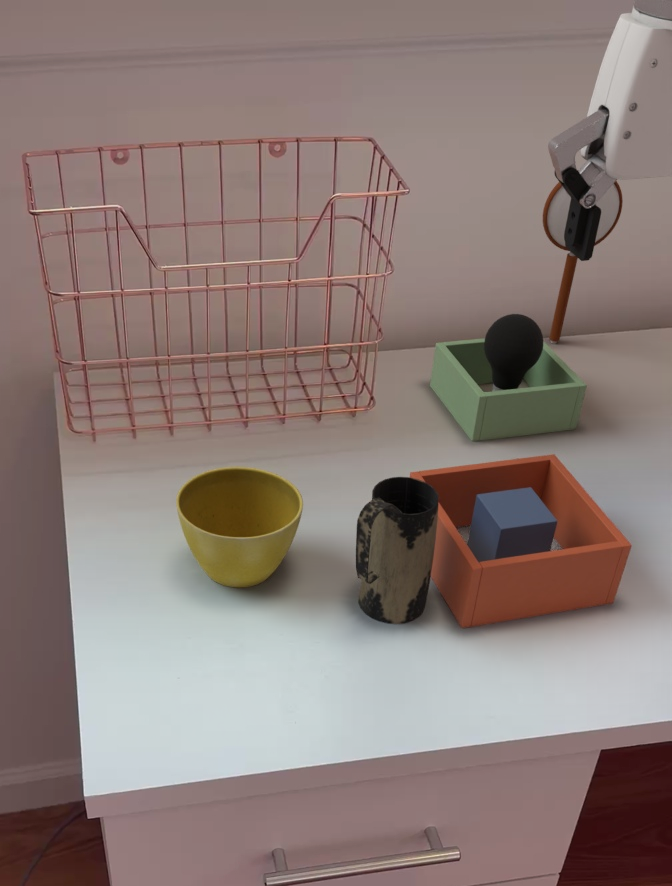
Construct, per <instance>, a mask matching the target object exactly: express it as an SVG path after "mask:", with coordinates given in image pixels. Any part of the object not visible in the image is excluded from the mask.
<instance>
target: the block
mask: <svg viewBox="0 0 672 886" xmlns="http://www.w3.org/2000/svg"><path fill="white" fill-rule="evenodd" d="M556 526H557V520H556V518H555V517H554V516H553V515H552V513H551V512H550V511H549V509H548V508H547V507H546V506H545V504H544V503H543V502H542V501H541V499H540V498H539V497H538V495H537V494H536V493H535V492H534V490H533V489H532V488H531V487H529V488H521V489H514V490H506V491H499V492H491V493H484V494H477V495H476V501H475V506H474V512H473V517H472V522H471V525H470V528H469V533H468V539H467V543H466V544H467V546H468V547H469V549H470V550H471V552H472V553H473V555H474V556H475V558H476V559H477V561H478V562H482V561H488V560H495V559H502V558H508V557H515V556H522V555H528V554H535V553H542V552H548V551H551V549H552V544H553V541H554V533H555V529H556Z"/></svg>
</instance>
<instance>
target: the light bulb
mask: <svg viewBox="0 0 672 886" xmlns="http://www.w3.org/2000/svg"><path fill="white" fill-rule="evenodd" d="M484 338H485V341H484V351H485V355H486V358H487V360H488V362H489V363H490V365H491V368H492V380H493V383H492V385H493V386H492V390H491V392H492V391H501V390H510V389H519V388H520V385H521V384H522V382H523V380H524V379H523V377H524V375H525V373H526V372H527V371H528V370H529V369H530V368H531V367H533V366H534V365H535V364H536V362H537V361H538V360H539V358H540V356H541V354H542V350H543V341H544V335H543V332H542V330H541V328H540V325H538V324H537V322H536V321H535V320H534V319H532V318H531V317H529V316H527V315H524V314H521V313H511V314H506V315H503V316H501V317H499V318H498V319H496V320H495V321H494V322H493V323H492V324H491V326H490V327H489V328H488V330H487V332H486V334H485V337H484ZM522 379H523V380H522Z"/></svg>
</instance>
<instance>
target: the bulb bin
mask: <svg viewBox="0 0 672 886" xmlns="http://www.w3.org/2000/svg"><path fill="white" fill-rule="evenodd" d="M484 341H485V337H483V338H475V339H463V340H462V339H461V340H453V341H443V342H441V341H440V342H436V343H435V348H434V354H433V360H432V361H433V362H432V368H431V375H430V381H429V386H430V388H431V389H432V390H433V392H434V393H435V394H436V396H437V397H438V399H439V400H440V402H441V403H442V404H443V405H444V407H445V408H446V409H447V411H448V412H449V413H450V414H451V415H452V417H453V419H454V420H455V421H456V423H458V425H459V427H460V428H461V429H462V430H463V431H464V433H465V434H466V435H467V437H468V438H469V440H470V441H471V442H478V441H489V440H496V439H504V438H513V437H520V436H521V437H522V436H529V435H530V436H531V435H538V434H546V433H547V434H548V433H555V432H564V431H570V430H571V431H572V430H576V429H577V426H578V422H579V418H580V415H581V410H582V407H583V402H584V398H585V394H586V390H587V384H586V383H585V382H584V380H582V378H581V377H580V376H579V375H577V373H575V372H574V370H573V369H571V368H570V367H569V365H568V364H566V362H564V361H563V359H562V358H560V356H559V355H558V354H557V353H556V352H555V351H554V350H553V349H552V348H551V347H550V346H549V345H548V344H547V343H546V341H544V340H543V350H542V354H541V356H540V358H539V360H538V361H537V362H536V364H535V365H534V366H533V367H531V368H530V369H529V370H528V371H527V372H526V373H525V375H524V377H523V379H522V381H524V382H525V383H526V384H527V385H528V386H529V387H519V388H517V389H510V390H501V391H492V390H491V391H484V390H483V389H482V388H481V387H480V386H479V385H483V384H484V385H485V384H493V380H492V368H491V365H490V363H489V362H488V360H487V358H486V355H485V351H484Z"/></svg>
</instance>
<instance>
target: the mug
mask: <svg viewBox="0 0 672 886" xmlns="http://www.w3.org/2000/svg"><path fill="white" fill-rule="evenodd" d="M371 495H372V496H371V500H370V501H369V502H367V503H366V504H365V505H364V506H363V508H362V509H361V510H360V512H359V515H358V517H357V519H356V536H355V537H356V538H355V570H356V575H357V579H359V580H361V583H360V586H359V587H360V588H359V592H358V596H357V597H358V598H357V600H358V601H357V603H358V605H359V608H360V609H361V611H362V612H363V613H364V614H365V615H366V616H368V617H369V618H370V619H372V620H374V621H377V622H380V623H384V624H390V625H400V624H401V625H402V624H406V623H410V622H413V621H415V620H416V619H418V618H420V617H421V615H422V614H423V613H424V610H425V608H426V604H427V598H428V595H429V590H430V582H431V570H432V564H433V557H434V549H435V540H436V530H437V521H438V502H439V498H438V494H437V492H436V490H435V489H434V488H433V487H432V486H431V485H429V484H427V483H426V482H424V481H421V480H418V479H415V478H410V476H409V477H408V476H394V477H388V478H385V479H382V480H381V481H378V483H377V484H375V485H374V487H373V488H372V492H371Z"/></svg>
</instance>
